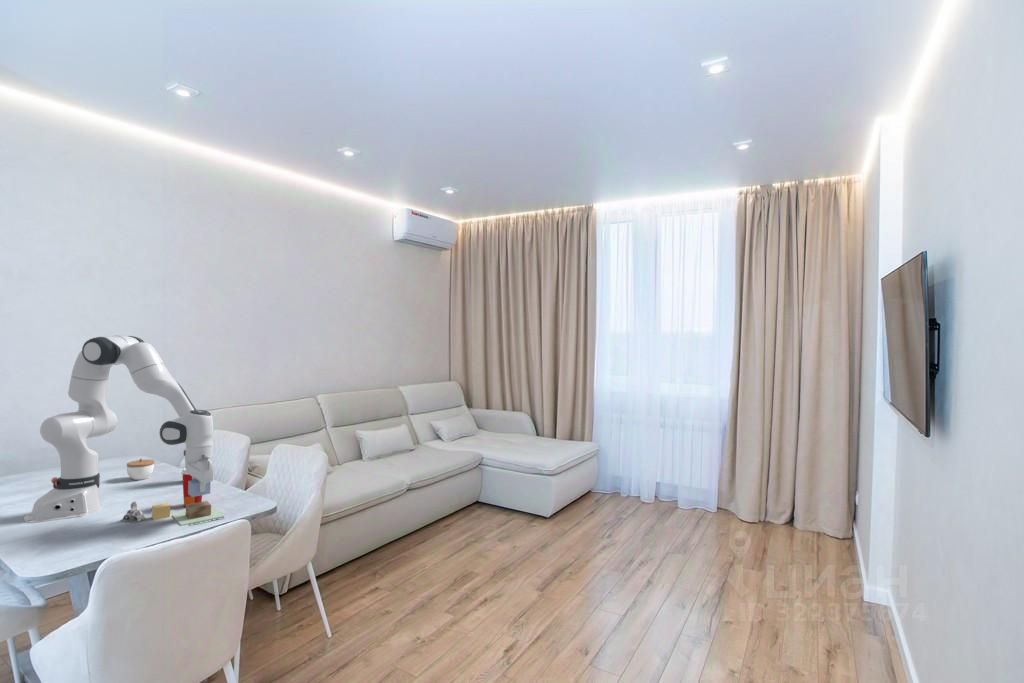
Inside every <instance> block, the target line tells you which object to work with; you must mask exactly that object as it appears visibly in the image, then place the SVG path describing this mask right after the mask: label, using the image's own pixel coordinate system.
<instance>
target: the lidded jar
mask: <svg viewBox="0 0 1024 683" xmlns="http://www.w3.org/2000/svg"><path fill="white" fill-rule="evenodd" d="M154 470H155V460H154V459H143V458H139V460H137V459H136V460H133V461H130V462H129V461H128V462H127V463H126V471H127V475H128V477H129V478H130V479H132V480H133V481H142V480H146V479H148V478H149V477H150V476H151V475H152V474H153V472H154Z"/></svg>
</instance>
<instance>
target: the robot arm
mask: <svg viewBox="0 0 1024 683" xmlns="http://www.w3.org/2000/svg"><path fill="white" fill-rule="evenodd" d="M81 348H82V349H81V351H80V352H79V353H78V355H77V357H76V359H75V362H74V364H73V368H72V370H71V376H70V380H69V386H68V387H69V388H68V391H67V394H68V397H69V398H70V399H71V400H72V401H74V402H76V403H78V404H77V405H78V410H77V411H72V412H63V413H59V414H56V415H53V416H51V417H48V418H45V419H44V420H43V422H42V423H41V425H40V427H39V428H40V429H39V434H40V435H41V438H42V439H43V440H44V441H45V442H47V443H48V444H50V445H52V446H53V447H54V448H55V450H56V451H57V453H58V455H59V460H60V477H52V478H51V480H50V481H51V483H52V484H53V485H52V486H53V487H52V489H50V490H49V491H48V492H46V493H44V495H42V496H40V497H39V498H38V499H37V500H36V501H35V502H34V503H33V506H32V509H31V512H29V513H27V514H25V515H24V517H23V522H25V523H27V524H35V523H36V524H37V523H44V522H51V521H53V522H54V521H60V520H69V519H75V518H76V519H77V518H82V517H83V518H84V517H86V516H88V515H90V514H93V513H96V512H98V511H101V510H102V509H103V507H104V506H103V504H102V502H101V496H100V489H99V488H100V485H101V476H100V472H99V461H100V460H99V457H100V456H99V454H98V452H97V451H95V450H94V449H92V448H89V447H88V444H87V439H91V438H97V437H101V436H104V435H107V434H109V433H111V432H112V431H114V430H115V429H116V427H117V425H118V417H117V415H116V413H115V412H114V411H113V410H111V408H109V406H108V404H107V403H108V402H107V399H106V398H107V397H106V395H107V387H108V381H109V377H110V376H109V375H110V371H111V368H112V366H118V365H124V366H125V367H126V368H127V370H128V372H129V375H130V376H131V379H132V380H133V382H134V385H136V387H137V388H138V389H139V390H140V391H142V392H144V393H146V394H150V395H155V396H159V397H161V398H163V399H166V400H167V401H168V402H169V403H170V404H171V406H172V407H173V409H174V411H175V412H176V413H177V415H178V417H176V418H173V419H170V420H167V421H165V422H163V423H162V425H161V426H160V429H159V438H160V440H161V441H162V442H163V443H164V444H166V445H169V446H175V445H176V446H177V445H180V444H185V449H184V450H183V456H184V463H185V465H184V466H185V467H184V468H186V472H187V474H189V475H191V476H192V480H196V479H197V480H199V483H200V486H199V491H200V492H204V491H205V486H206V483H207V482H210V483H211V482H213V481H214V465H213V464H214V463H213V461H212V460H210V459H211V458H213V457H214V441H213V436H214V430H215V429H214V418H213V415H212V413H211V412H209V411H207V410H204V409H197V408H196V407H195V405H194V404H193V403H192V401H191V399H190V397H189V396H188V394H187V393H186V391H185V390H184V389H183V387H182V386H181V385H180V383H179V382H178V381H177V380H176V379H175V378H174V377H173V376H172V374H171V373H170V372H169V370H168V368H167V366H166V365H165V363H164V360H162V357H161V356H160V354H159V352H158V351H157V350H156V349H155V347H154V346H153V345H152V344H151V343H149V342H145V341H144V340H143V338H142V339H141V338H140V337H137V336H132V335H127V336H126V335H110V336H109V335H108V336H96V337H92V338H90V339H88V340H86V341H85V342H84V343H83V346H82V347H81Z"/></svg>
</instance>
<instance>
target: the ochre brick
mask: <svg viewBox="0 0 1024 683" xmlns="http://www.w3.org/2000/svg"><path fill="white" fill-rule="evenodd" d="M167 518H171V504H170V503H169V502H165V503H161V504H160V503H159V504H154V505H151V519H152V520H154V521H157V520H163V519H167Z"/></svg>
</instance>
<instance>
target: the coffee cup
mask: <svg viewBox="0 0 1024 683" xmlns="http://www.w3.org/2000/svg"><path fill="white" fill-rule="evenodd" d="M180 474H181V475H182V492H183V506H184V507H185V506H186V505H187V504H192V503H198V502H203V495H200V496H195V497H192V496H190V495H189V494H188V481H191V480H192V476H191V475H189V474H187V472H186V467H184V468H183V469H182V470H181V472H180Z"/></svg>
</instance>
